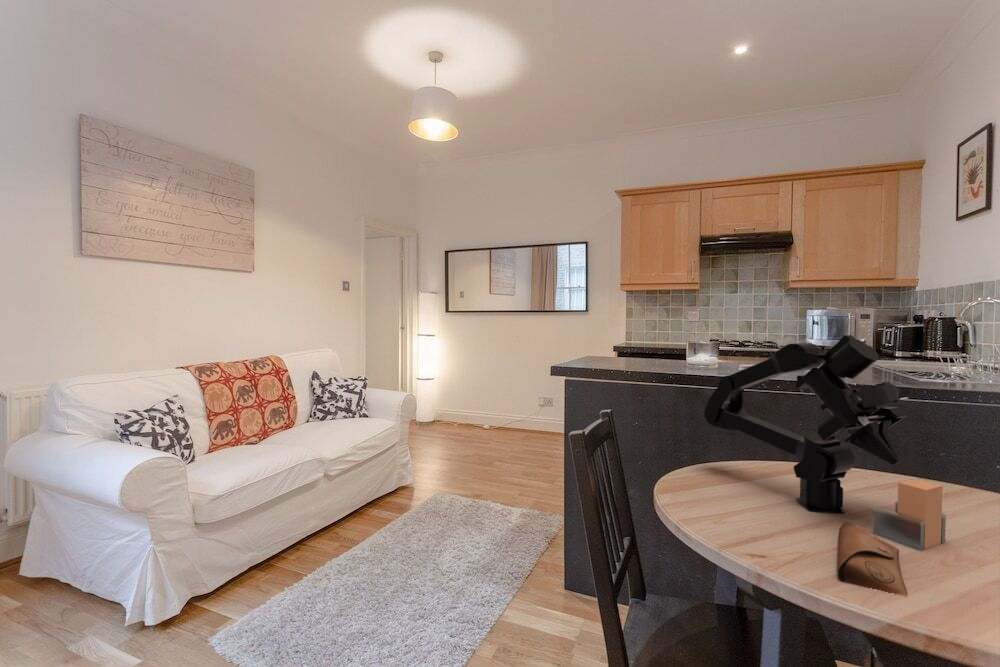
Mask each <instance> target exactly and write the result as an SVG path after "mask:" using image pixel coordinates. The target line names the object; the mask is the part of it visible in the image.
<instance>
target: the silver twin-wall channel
mask: <svg viewBox="0 0 1000 667" xmlns="http://www.w3.org/2000/svg"><path fill="white" fill-rule="evenodd" d="M894 503H895V504H894V505H895V506H894V507H895V508H894V509H895V510H894V511H892V510H888V509H885V508H882V507H880V506H876V507H875V506H874V507H873V532H872V534H873V535H875V536H877V537H881V538H884V539H886V540H889V541H892V542H895V543H897V544H900V545H903V546H905V547H909V548H911V549H914V550H917V551H919V552H922V551H924V550H925V549H924V524H925V522H924V521H921V520H918V519H915V518H911V517H908V516H905V515H902V514H899V513H898V500H897V501H894ZM946 518H947V515H946V514H944V513H942V524H941V544H945V543H946V524H947V523H946V522H947V520H946Z"/></svg>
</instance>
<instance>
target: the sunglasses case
mask: <svg viewBox="0 0 1000 667" xmlns="http://www.w3.org/2000/svg"><path fill="white" fill-rule="evenodd" d="M837 540H838V542H837V559H836V560H837V567H836V568H837V569H836V571H837V576H838V578H840V581H842V583H846V584H849V585H854V586H858V587H862V586H863V588H866V587H867V589H870V588H872V589H871V590H874V589H877V590H876V591H878V590H881V591H880V592H882V591H884V592H883V593H886V592H888V593H887V594H891V593H894V594H893V595H896V594H898V595H897V596H900V595H902V596H901V597H903V596H905V597H904V598H907V597H906V596H907V595H908V591H907V587H906V584H905V582H904V579H903V578H904V577H903V576H902V571H901V565H900V560H899V559H900V558H899V557H900V556H899V555H900V554H899V553H900V549H899V548H897V547H896V546H894V545H893V544H890V543H888V542H887V541H884V540H881V539H880V538H878V537H876V536H874V535H872V534H871V533H869V532H868V531H866V530H864V529H863V528H862V527H860V526H859V525H857V524H855V523H853V522H851V521H845V522H844V523H843V524H841V526H840V527H839V530H838V539H837ZM899 594H900V595H899Z"/></svg>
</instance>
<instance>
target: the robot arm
mask: <svg viewBox="0 0 1000 667" xmlns="http://www.w3.org/2000/svg"><path fill="white" fill-rule="evenodd" d="M838 340H839V341H838V342H837V343H836V344H834V345H833V346H832V347H831V348H830V349H829V350H825V349H821V348H820V347H819V346H818V345H816V344H815V343H812V342H802V343H801V342H800V343H799V342H798V343H794V342H793V343H787V344H786V345H783V347H781V348H780V349H778V350H776V351H775V352H774V353H773V354H772V355H771V357H769V358H767V359H765V360H763V361H760V362H758V363H756V364H753V365H752V366H748V367H746V368H744V369H741V370H739V371H737V372H734V373H732V374H730V375H729V374H728V375H724V376H722V377H721V378H720V380H719V382H718V385H717V388H716V389H715V390H714V391H713V392H712V394H711V395H710V397H709V398H708V401H707V404H706V406H705V407H704V415H703V416H704V419H705V421H706V423H707V424H708V425H709V426H710V427H713V428H717V429H723V430H731V431H737V432H739V433H741V434H745V435H747V436H748V437H751V438H754V439H755V440H758V441H760V442H763V443H765V444H768V445H770V446H772V447H774V448H777V449H778V450H781V451H783V452H785V453H787V454H790V455H792V456H794V457H795V458H796V459H797V461H799V462H798V463H796V464H795V465H794V466H793V471H794V474H795V477H796V478H798V479H799V480H800V481H799V497H796V502H798V503H799V504H800V505H801V506H802V507H803V508H805V509H806V510H807V511H808V512H812V513H827V514H839V515H844V514H845V511H844V510H843V509H842V508H843V507H844V488H843V487H842V485H841V482H842V481H841V479H844V478H845V477H846V475H847V472H848V471H851V470H852V469H853V467H854V466H855V461H856V460H855V459H856V458H855V456H854V453H853V452H852V449H851V448H850V447H849V446H848V445H846V444H845V443H843V440H842V439H836V436H835V435H836V434H838V433H839V432H843V431H847V435H848V436H847V438H845V439H844V442H846V443H849V444H852V445H853V446H856V447H858V448H860V449H861V450H863V451H866V452H868V453H870V454H872V455H874V456H875V457H877V458H878V459H881V460H883V461H885V462H887V463H888V464H891V465H892V466H895V465H898V464H899V463H900V462H901V460H900V457H899V456H898V453H897V451H896V449H895V447H894V445H893V442H892V440H891V438H890V435H889V429H890V428H892V427H893V426H895V425H896V424H897V423H899V422H900V421H902V420H903V419H905V418H906V417H907V414H906V413H905V412H904V411H903V410H902V409H901V408H900V407H897V406H885V407H880V406H882V405H885V404H886V405H887V404H889V403H898V402H901V398H900V397H899V396H900V393H901V389H900V388H898V387H896V384H892V383H891V382H890V381H882V382H881V383H876V384H875V386H873V387H870V388H866V389H863V390H861V389H860V388H857V387H854V388H851V387H850V385H849V384H848V383H847V382H846V381H845V380H844V379H846V378H848V379H851V380H853V379H856V378H857V377H858V376H859V375H861V374H862V373H863V372H864V371H866V370H867V369H868V368H870V367H871V366H872V365H873V364H875V363H876V362H877V361H878V360H879V359H880V355H879V354H878V352H877V351H876V350H875V349H874V348H873V347H872V346H871V345H868V344H866V343H865V342H863V341H861V340H860V339H858V338H855V337H854V336H853V335H852V334H849V335H848V334H847V335H846V334H845V335H843V336H842V337H841V338H840V339H838ZM807 371H808V372H807ZM798 372H806V373H805V374H804V375H803V374H802V375H796V382H795V388H796V389H797V390H799V389H808V388H809V389H810V390H811V392H813V394H814V395H815V396H816V397H817V398H818V400H819V402H821V403H822V404H821V405H820V406H819V407H820V409H821V410H822V411H824V412H825V411H829V413H831V415H830V416H829V417H828V418H826V420H824V421H823V422H821V424H819V425H818V426H816V433H815V434H810V435H804V436H803V435H800V434H798V433H796V432H793V431H791V430H789V429H786V428H783V427H781V426H779V425H775V424H773V423H770V422H769V421H768V422H767V421H766V420H762V419H760V418H757V417H755V416H753V415H750V414H749V413H748V412H747V411H746V409H745V408H744V407H743V406H744V404H745V399H744V398H745V397H744V391H745V389H747V388H750V387H752V386H755V385H757V384H760V383H763V382H765V381H768V380H771V379H773V378H774V379H775V377H779V376H781V375H784V374H792V373H798ZM729 397H730V399H729V401H727V399H728V398H729Z"/></svg>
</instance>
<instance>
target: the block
mask: <svg viewBox="0 0 1000 667" xmlns="http://www.w3.org/2000/svg"><path fill="white" fill-rule="evenodd" d="M897 501H898V513H899V514H902V515H905V516H908V517H911V518H915V519H918V520H921V521H924V522H925V524H924V550H927V549H929V548H933V547H935V546H938V545H941V544H942V543H941V524H942V514H943V485H940V484H938V483H937V484H936V483H934V482H933V483H932V482H929V481H925V480H920V479H917V478H912V479H908V480H904V481H899V482H898V483H897Z"/></svg>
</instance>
